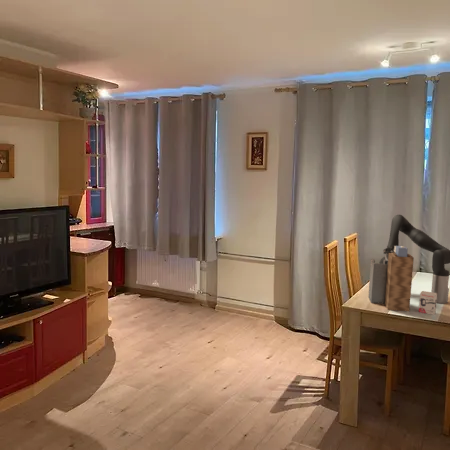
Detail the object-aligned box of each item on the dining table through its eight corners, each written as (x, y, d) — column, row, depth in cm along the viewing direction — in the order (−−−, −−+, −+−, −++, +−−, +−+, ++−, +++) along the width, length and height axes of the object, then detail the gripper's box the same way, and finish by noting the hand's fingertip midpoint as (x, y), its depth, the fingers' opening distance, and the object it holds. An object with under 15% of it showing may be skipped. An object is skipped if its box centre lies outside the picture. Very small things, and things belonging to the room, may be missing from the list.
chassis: (384, 297, 301) (386, 259, 298) (387, 304, 287) (390, 264, 283) (367, 296, 303) (370, 258, 300) (371, 302, 288) (373, 263, 285)
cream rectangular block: (399, 250, 292) (400, 241, 291) (407, 257, 270) (407, 247, 269) (391, 249, 292) (392, 240, 292) (398, 256, 271) (398, 246, 270)
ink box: (418, 312, 273) (420, 292, 271) (420, 309, 277) (421, 290, 275) (434, 314, 268) (435, 294, 267) (435, 312, 272) (437, 293, 271)
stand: (405, 305, 284) (409, 252, 280) (409, 311, 273) (413, 255, 269) (384, 304, 286) (388, 251, 282) (387, 309, 275) (392, 254, 271)
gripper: (380, 250, 305) (385, 240, 289) (403, 251, 303) (409, 241, 287) (380, 261, 302) (385, 252, 287) (403, 262, 300) (409, 253, 284)
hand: (397, 247), depth 287 cm, fingers closed on cream rectangular block, 3 cm apart
